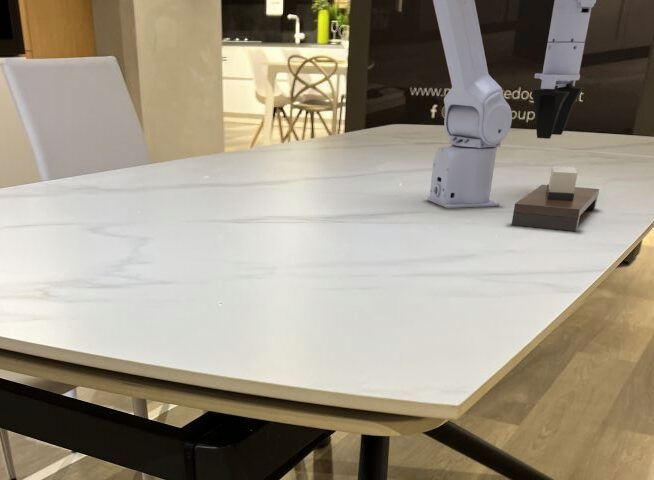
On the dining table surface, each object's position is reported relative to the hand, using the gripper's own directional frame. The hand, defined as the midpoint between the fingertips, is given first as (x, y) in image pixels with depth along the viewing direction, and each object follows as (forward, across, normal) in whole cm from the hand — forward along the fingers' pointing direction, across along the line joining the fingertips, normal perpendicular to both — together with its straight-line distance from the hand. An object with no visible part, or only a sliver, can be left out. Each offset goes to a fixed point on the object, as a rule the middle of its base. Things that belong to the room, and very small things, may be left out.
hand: (549, 136), depth 126 cm
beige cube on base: (+6, +18, +7) cm, 21 cm away
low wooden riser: (+9, +18, +7) cm, 22 cm away
